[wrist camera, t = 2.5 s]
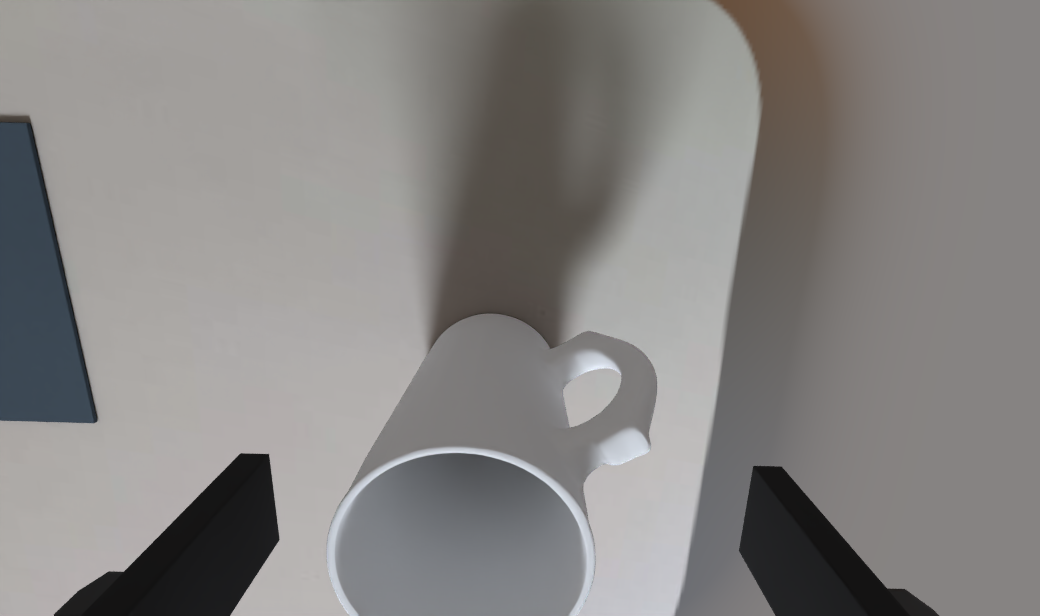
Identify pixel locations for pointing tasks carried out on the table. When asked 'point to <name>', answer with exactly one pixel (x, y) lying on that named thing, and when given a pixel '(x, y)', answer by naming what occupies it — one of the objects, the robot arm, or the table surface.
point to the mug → (487, 478)
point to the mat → (34, 298)
